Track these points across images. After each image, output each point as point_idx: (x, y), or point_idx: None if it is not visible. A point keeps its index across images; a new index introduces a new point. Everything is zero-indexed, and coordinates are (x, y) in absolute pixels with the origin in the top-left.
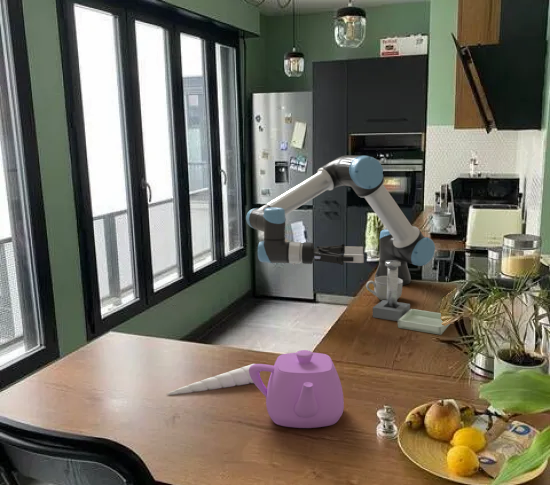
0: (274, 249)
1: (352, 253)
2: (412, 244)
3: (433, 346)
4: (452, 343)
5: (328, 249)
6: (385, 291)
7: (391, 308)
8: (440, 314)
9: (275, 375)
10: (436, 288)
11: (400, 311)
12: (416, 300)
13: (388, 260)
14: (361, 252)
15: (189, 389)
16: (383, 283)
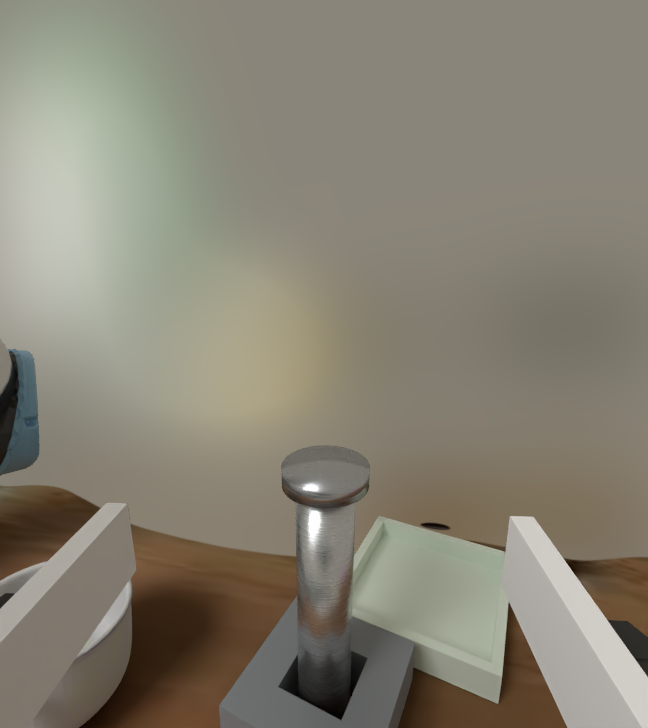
0: None
1: (67, 657)
2: (7, 390)
3: (635, 609)
4: (567, 561)
5: None
6: (110, 667)
7: (371, 678)
8: (374, 538)
9: None
10: (36, 515)
11: (409, 644)
12: (137, 584)
13: (287, 475)
14: (124, 562)
15: None
16: None
